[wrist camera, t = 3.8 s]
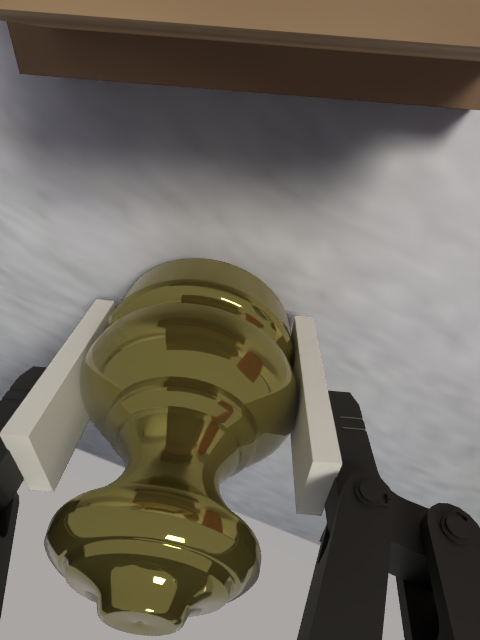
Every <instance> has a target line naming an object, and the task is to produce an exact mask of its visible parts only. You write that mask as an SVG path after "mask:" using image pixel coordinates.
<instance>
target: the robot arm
mask: <svg viewBox="0 0 480 640" xmlns="http://www.w3.org/2000/svg"><path fill="white" fill-rule="evenodd" d="M115 308H116V305H115V301H111V300H99V299H96V300H95V302H94V303H93V305H92V306H91V307H90V309H89V310H88V312H87V313H86V314H85V316H84V317H83V318H82V320H81V321H80V323H79V324H78V325H77V327H76V328H75V330H74V331H73V332H72V334H71V335H70V336H69V338H68V339H67V341H66V342H65V343H64V345H63V346H62V348H61V349H60V350H59V352H58V353H57V354H56V356H55V357H54V359H53V360H52V361H51V363H50V364H49V366H48V367H47V368H46V367H34V366H33V367H32V368H31V369H29V370H28V371H26V372H25V373H24V374H22V375H21V376H19V378H18V379H17V380H16V381H15V383H14V384H13V385H12V386H11V388H10V391H8V392H7V393H6V394H5V395H4V397H3V398H2V401H0V617H1V611H2V605H3V599H4V593H5V587H6V580H7V574H8V568H9V562H10V556H11V550H12V544H13V537H14V531H15V525H16V519H17V513H18V507H19V495H18V494H17V490H18V488H19V487H20V485H21V483H22V481H23V480H24V482H25V484H26V485H27V488H28V489H29V490H34V491H45V492H54V490H55V488H56V486H57V484H58V482H59V480H60V478H61V476H62V474H63V472H64V470H65V468H66V466H67V464H68V462H69V460H70V458H71V456H72V454H73V452H74V450H75V448H76V446H77V444H78V442H79V440H80V438H81V436H82V434H83V432H84V430H85V428H86V426H87V424H88V422H89V420H90V418H89V416H88V414H87V412H86V410H85V408H84V405H83V402H82V398H81V394H80V372H81V368H82V364H83V361H84V358H85V356H86V354H87V352H88V351H89V349H90V347H91V346H92V345H93V343H94V342H95V341H96V340H97V339H98V337H99V336H100V335H101V334H102V333H103V332H104V330H105V327H106V324H107V321H108V319H109V317H110V316H111V314H112V312H113V311H114V310H115ZM291 342H292V345H293V349H294V356H295V361H294V367H293V373H294V376H295V380H296V384H297V388H298V395H299V405H298V412H297V417H296V421H295V424H294V426H293V428H292V430H291V432H290V434H291V447H292V461H293V475H294V488H295V502H296V514H307V515H319V516H321V515H322V513H323V510H324V508H325V511H326V519H327V525H326V527H325V529H324V532H323V534H322V536H321V539H320V542H321V545H320V549H319V553H318V558H317V561H316V565H315V569H314V574H313V578H312V581H311V586H310V590H309V593H308V598H307V602H306V606H305V610H304V614H303V618H302V622H301V626H300V630H299V634H298V638H297V640H382V633H383V622H384V613H385V602H386V591H387V582H388V581H387V580H388V573H390V574H392V575H394V576H396V582H397V589H398V596H399V603H400V610H401V617H402V624H403V631H404V637H405V640H480V528H479V526H478V524H477V523H476V522H475V521H474V520H473V519H472V518H471V516H470V515H469V514H467V513H466V512H464V511H463V510H462V509H460V508H459V507H456V506H453V505H451V504H448V503H438V504H436V505H434V506H432V507H431V508H430V509H428V508H425V507H423V506H420V505H418V504H415V503H413V502H410V501H408V500H406V499H404V498H402V497H400V496H398V495H396V494H395V493H394V492H392V491H391V490H390V488H389V487H388V486H387V484H386V483H385V482H384V481H383V480H382V479H381V478H380V475H379V473H378V471H377V467H376V464H375V460H374V457H373V453H372V449H371V446H370V442H369V439H368V435H367V432H366V431H365V429H366V428H365V425H364V421H363V420H362V414H361V411H360V407H359V404H358V403H357V402H356V400H355V399H354V398H353V396H352V395H351V394H350V393H349V392H337V391H328V389H327V384H326V379H325V374H324V369H323V364H322V359H321V354H320V349H319V344H318V339H317V334H316V329H315V324H314V319H313V317H302V316H295V317H294V323H293V328H292V333H291Z"/></svg>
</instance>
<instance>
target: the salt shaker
mask: <svg viewBox="0 0 480 640" xmlns="http://www.w3.org/2000/svg"><path fill="white" fill-rule="evenodd" d="M294 361H295V356H294V349H293V345H292V342H291V335H290V325H289V320H288V317H287V314H286V311H285V309H284V307H283V305H282V304H281V302H280V300H279V299H278V297H277V296H276V295H275V293H274V292H273V291H272V290H271V289H270V288H269V287H268V286H267V285H266V284H265V283H264V282H262V281H261V280H260V279H259V278H257V277H256V276H254V275H253V274H251V273H249V272H247V271H246V270H244V269H241V268H239V267H237V266H234V265H232V264H229V263H225V262H222V261H217V260H211V259H200V258H192V259H181V260H176V261H171V262H168V263H165V264H162V265H160V266H157V267H155V268H153V269H151V270H150V271H148V272H146V273H145V274H144V275H142V276H141V277H140V278H139V279H138V280H137V281H136V282H135V283H134V284H133V285H132V286H131V288H130V289H129V291H128V292H127V294H126V296H125V297H124V299H123V301H122V302H121V303H120V304H119V305H118V306H117V307H116V308H115V310H114V311H113V312H112V314H111V316H110V317H109V319H108V321H107V324H106V327H105V330H104V332H103V333H102V334H101V335H100V336H99V337H98V339H97V340H96V341H95V342H94V343H93V345H92V346H91V347H90V349H89V351H88V352H87V354H86V356H85V358H84V361H83V364H82V368H81V372H80V394H81V398H82V402H83V405H84V408H85V410H86V412H87V414H88V416H89V418H90V420H91V421H92V423H93V424H94V426H95V427H96V428H97V430H98V431H99V432H100V433H101V434H102V435H103V436H104V437H105V438H106V439H107V440H108V441H109V442H110V444H111V446H112V447H113V449H114V450H115V451H116V452H117V454H118V455H119V456H120V457H121V458H122V460H123V462H124V464H125V471H124V472H123V474H122V475H121V476H120V477H119V478H118V479H117V480H116V481H114V482H113V483H111V484H109V485H107V486H105V487H102V488H99V489H95V490H91V491H89V492H86V493H83V494H81V495H79V496H77V497H75V498H73V499H72V500H70V501H68V502H67V503H66V504H64V505H63V506H62V507H61V508H60V509H59V510H58V511H57V512H56V514H55V515H54V516H53V518H52V520H51V522H50V524H49V527H48V530H47V533H46V536H45V540H44V546H45V550H46V552H47V555H48V557H49V559H50V561H51V562H52V564H53V565H54V566H55V568H56V569H57V570H58V571H59V572H60V574H61V575H62V576H64V577H65V578H66V581H67V583H68V584H69V585H70V586H71V587H72V588H73V589H74V590H75V591H76V592H78V593H79V594H81V595H82V596H84V597H86V598H88V599H90V600H92V601H94V602H96V603H97V613H98V616H99V618H100V619H101V620H102V621H103V622H104V623H105V624H107V625H108V626H110V627H112V628H115V629H117V630H120V631H123V632H127V633H132V634H138V635H147V636H160V635H166V634H171V633H174V632H176V631H178V630H180V629H181V628H182V627H183V625H184V623H185V621H186V619H187V618H188V617H191V616H198V615H203V614H207V613H211V612H213V611H215V610H217V609H220V608H221V607H223V606H224V605H225V604H226V603H228V602H230V601H233V600H234V599H236V598H238V597H240V596H241V595H242V594H244V593H245V592H246V591H248V590H249V589H250V588H251V587H252V586H253V585H254V584H255V582H256V581H257V579H258V577H259V572H260V564H261V550H260V546H259V543H258V540H257V538H256V536H255V535H254V533H253V532H252V530H251V529H250V528H249V526H248V525H247V524H246V523H245V522H244V521H243V520H242V519H241V518H240V517H238V516H237V515H236V514H235V513H233V512H232V511H231V510H230V509H229V508H228V507H227V506H226V504H225V503H224V501H223V499H222V498H221V495H220V491H219V486H220V484H221V483H222V482H223V481H224V480H226V479H227V478H228V477H231V476H233V475H235V474H237V473H238V472H240V471H241V470H243V469H244V468H246V467H249V466H251V465H253V464H255V463H257V462H259V461H261V460H263V459H264V458H266V457H267V456H269V455H270V454H272V453H273V452H274V451H275V450H276V449H278V448H279V446H280V445H281V444H282V443H283V442H284V441H285V440H286V438H287V437H288V435H289V434H290V432H291V430H292V428H293V426H294V424H295V421H296V417H297V412H298V405H299V395H298V388H297V384H296V380H295V376H294V373H293V367H294Z"/></svg>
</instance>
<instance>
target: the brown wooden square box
mask: <svg viewBox="0 0 480 640" xmlns="http://www.w3.org/2000/svg"><path fill="white" fill-rule="evenodd" d="M0 20H3V21H7V24H8V28H9V32H10V36H11V40H12V44H13V48H14V52H15V56H16V60H17V64H18V68H19V72H20V74H29V75H41V76H54V77H67V78H80V79H92V80H105V81H118V82H130V83H143V84H156V85H168V86H181V87H194V88H206V89H219V90H232V91H244V92H257V93H270V94H282V95H295V96H308V97H320V98H333V99H346V100H358V101H371V102H384V103H396V104H409V105H422V106H434V107H447V108H460V109H472V110H480V0H0Z"/></svg>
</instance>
